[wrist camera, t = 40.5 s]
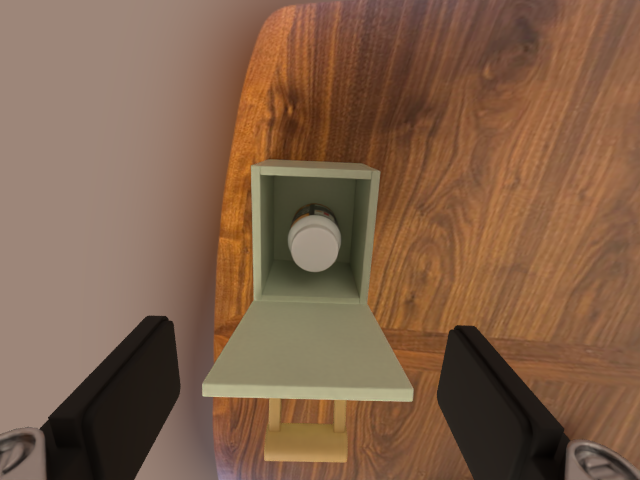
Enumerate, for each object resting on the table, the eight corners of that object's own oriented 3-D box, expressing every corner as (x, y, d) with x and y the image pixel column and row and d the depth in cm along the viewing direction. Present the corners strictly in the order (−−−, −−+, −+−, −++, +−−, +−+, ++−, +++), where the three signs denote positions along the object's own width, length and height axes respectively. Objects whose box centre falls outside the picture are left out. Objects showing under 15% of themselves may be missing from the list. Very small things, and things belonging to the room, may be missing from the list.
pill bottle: (300, 195, 38) (295, 213, 29) (343, 210, 39) (352, 232, 29) (286, 237, 40) (277, 266, 30) (328, 251, 41) (332, 284, 31)
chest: (268, 159, 38) (250, 165, 27) (363, 163, 38) (380, 171, 28) (269, 262, 42) (253, 302, 31) (354, 265, 42) (367, 305, 32)
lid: (201, 383, 17) (201, 483, 17) (414, 388, 17) (406, 486, 18) (252, 300, 31) (251, 357, 32) (367, 304, 31) (364, 360, 32)
